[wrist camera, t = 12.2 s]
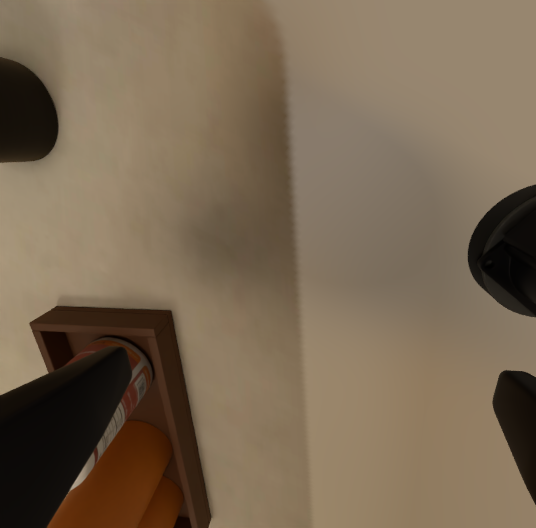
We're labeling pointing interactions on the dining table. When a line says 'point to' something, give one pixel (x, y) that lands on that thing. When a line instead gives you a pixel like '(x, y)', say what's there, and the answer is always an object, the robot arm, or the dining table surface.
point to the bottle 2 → (163, 506)
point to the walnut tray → (157, 396)
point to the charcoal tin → (24, 115)
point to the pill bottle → (129, 400)
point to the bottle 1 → (118, 481)
